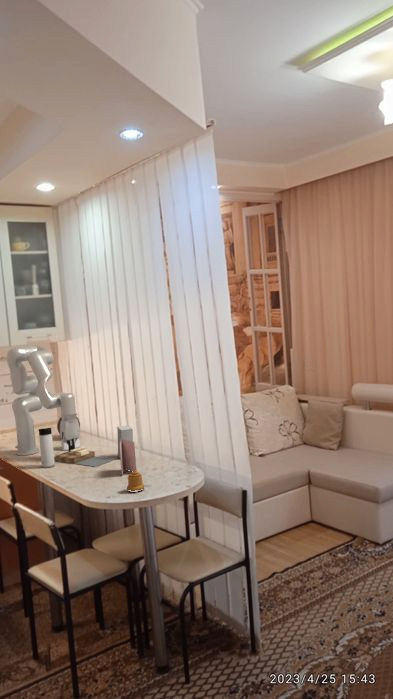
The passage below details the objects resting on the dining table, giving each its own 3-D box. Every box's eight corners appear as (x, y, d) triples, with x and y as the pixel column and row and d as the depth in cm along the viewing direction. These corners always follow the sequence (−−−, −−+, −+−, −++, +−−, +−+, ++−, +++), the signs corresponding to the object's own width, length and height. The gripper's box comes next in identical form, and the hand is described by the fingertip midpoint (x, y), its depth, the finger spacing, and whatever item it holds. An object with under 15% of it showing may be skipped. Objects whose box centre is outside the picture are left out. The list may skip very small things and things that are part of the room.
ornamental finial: (132, 487, 251) (147, 488, 248) (123, 492, 244) (139, 494, 241) (131, 468, 250) (146, 469, 247) (122, 474, 243) (137, 475, 240)
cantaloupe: (53, 441, 352) (51, 416, 351) (67, 435, 365) (64, 411, 364) (72, 441, 346) (70, 416, 345) (86, 436, 359) (84, 412, 358)
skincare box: (117, 456, 304) (115, 426, 303) (131, 454, 306) (128, 424, 305) (121, 460, 296) (119, 429, 295) (135, 458, 299) (132, 427, 297)
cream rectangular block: (70, 454, 303) (70, 450, 303) (78, 452, 307) (78, 447, 307) (81, 456, 298) (80, 451, 298) (89, 453, 303) (88, 449, 302)
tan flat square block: (56, 461, 303) (55, 455, 303) (76, 454, 315) (75, 449, 314) (74, 464, 295) (74, 458, 295) (94, 457, 306) (94, 451, 306)
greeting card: (121, 469, 279) (119, 438, 278) (137, 468, 279) (134, 437, 278) (120, 476, 268) (117, 444, 266) (136, 475, 268) (134, 443, 267)
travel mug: (42, 469, 290) (38, 429, 288) (42, 465, 296) (38, 427, 295) (55, 467, 292) (51, 427, 290) (54, 464, 298) (51, 425, 296)
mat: (75, 464, 295) (75, 463, 295) (95, 457, 306) (95, 456, 306) (95, 467, 287) (95, 466, 287) (114, 459, 298) (114, 459, 298)
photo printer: (78, 446, 333) (76, 425, 332) (81, 447, 330) (79, 426, 329) (61, 449, 328) (59, 428, 327) (63, 451, 324) (61, 429, 323)
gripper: (74, 414, 313) (77, 447, 314) (53, 419, 301) (56, 454, 302) (84, 414, 308) (87, 448, 310) (62, 420, 296) (66, 456, 298)
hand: (72, 451), depth 306 cm, fingers closed
